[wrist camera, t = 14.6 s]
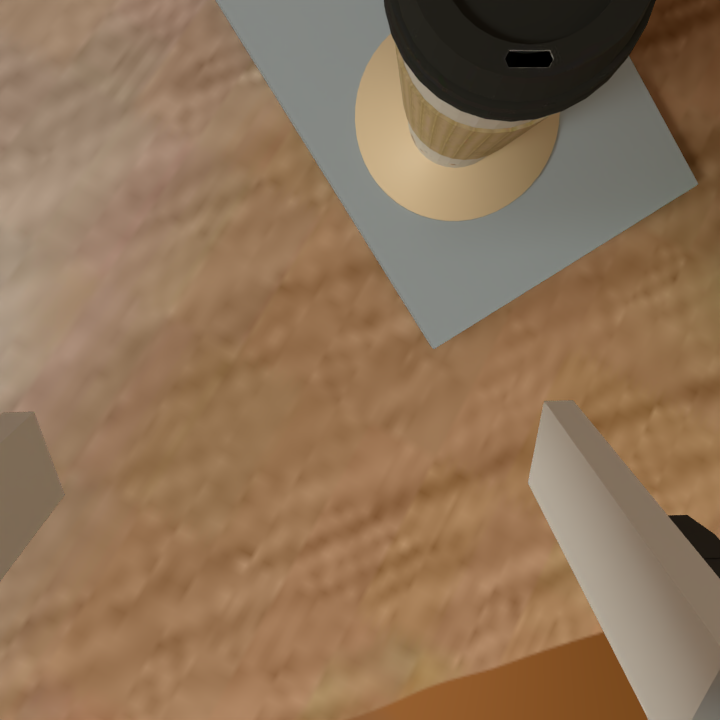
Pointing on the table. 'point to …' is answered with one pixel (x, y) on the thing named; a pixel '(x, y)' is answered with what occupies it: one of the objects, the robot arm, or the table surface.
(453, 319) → the gear board
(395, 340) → the table surface
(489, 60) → the coffee cup
